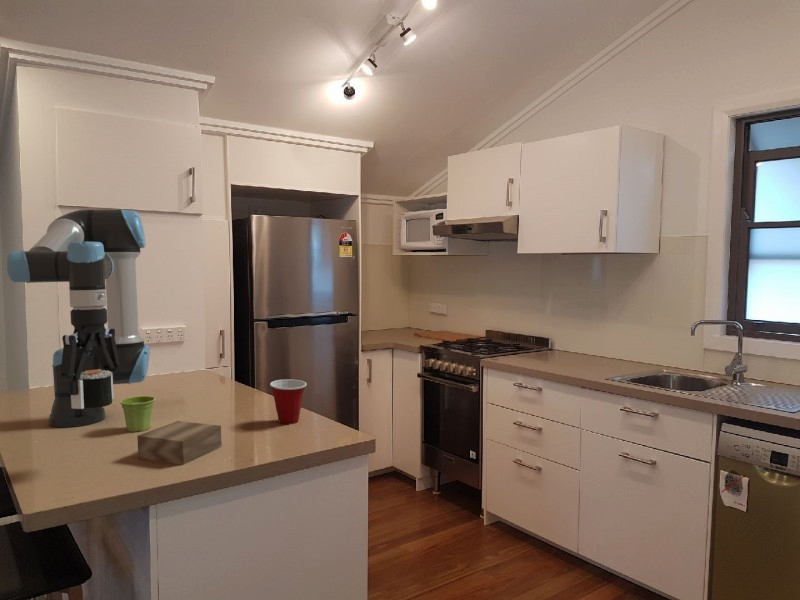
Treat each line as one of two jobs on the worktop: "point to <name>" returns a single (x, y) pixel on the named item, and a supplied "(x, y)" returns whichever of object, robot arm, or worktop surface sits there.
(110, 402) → the sushi
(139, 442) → the walnut block
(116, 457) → the worktop surface
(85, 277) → the robot arm
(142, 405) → the plant pot
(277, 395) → the plastic cup
